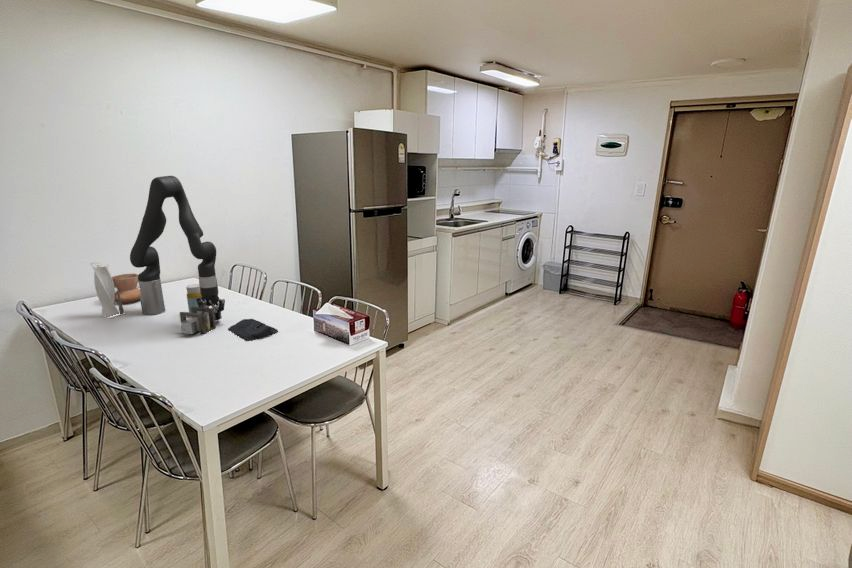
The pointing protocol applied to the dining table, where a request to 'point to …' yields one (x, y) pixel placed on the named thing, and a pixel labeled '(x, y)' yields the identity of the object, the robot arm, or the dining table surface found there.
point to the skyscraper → (106, 290)
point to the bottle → (193, 296)
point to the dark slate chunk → (252, 329)
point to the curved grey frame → (201, 318)
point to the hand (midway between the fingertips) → (213, 319)
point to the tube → (195, 323)
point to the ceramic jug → (127, 287)
